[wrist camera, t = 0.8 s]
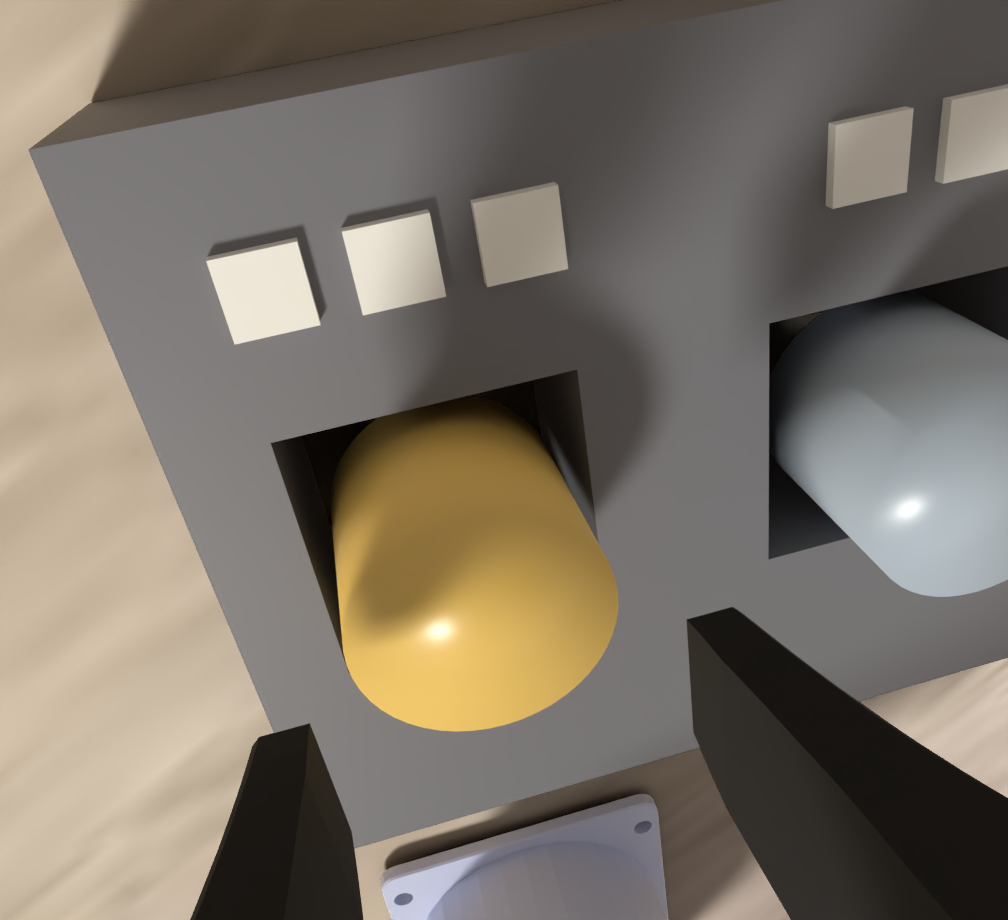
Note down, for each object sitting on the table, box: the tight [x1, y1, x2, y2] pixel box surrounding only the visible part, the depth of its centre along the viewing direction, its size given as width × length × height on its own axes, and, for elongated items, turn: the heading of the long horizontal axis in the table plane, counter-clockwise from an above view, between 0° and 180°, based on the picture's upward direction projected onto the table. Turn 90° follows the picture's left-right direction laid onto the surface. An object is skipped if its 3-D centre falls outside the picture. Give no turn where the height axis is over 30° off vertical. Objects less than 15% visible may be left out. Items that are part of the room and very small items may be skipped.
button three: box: [330, 396, 619, 732], centre depth 14 cm, size 4×4×4 cm
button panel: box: [29, 0, 1008, 849], centre depth 17 cm, size 14×24×4 cm, turn 99°
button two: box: [769, 290, 1008, 597], centre depth 15 cm, size 4×4×4 cm
